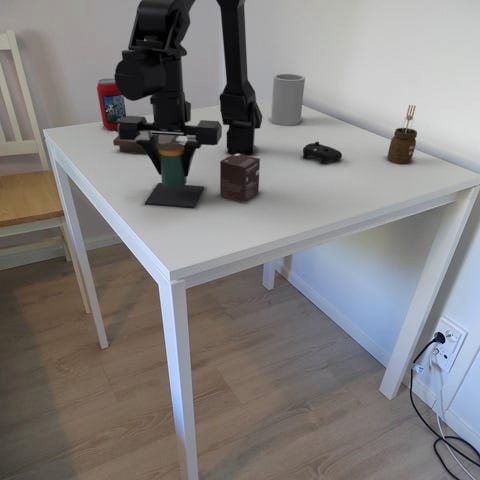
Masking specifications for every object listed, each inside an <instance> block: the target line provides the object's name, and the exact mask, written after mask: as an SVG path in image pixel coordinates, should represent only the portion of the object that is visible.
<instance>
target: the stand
mask: <svg viewBox="0 0 480 480" xmlns="http://www.w3.org/2000/svg"><path fill="white" fill-rule="evenodd" d="M161 130H165V129H161ZM176 131H181V130H176ZM179 137H180V136H174V135H159V145H161V144H165V143H177V139H178V138H179ZM136 141H137V137H136V138H135V139H134V140H125V139H119V136H118V135H117V136H116V138H114V139H113V140H112V142H113V146H115V147H116V146H117V147H119V152H120V153H132V154H144V155H145V154H146V155H147V153H146V152H145V150H144V149H143V148H142V146H141V145H137V144H136Z"/></svg>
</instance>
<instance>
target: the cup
mask: <svg viewBox="0 0 480 480" xmlns="http://www.w3.org/2000/svg"><path fill="white" fill-rule="evenodd" d="M272 77H273V78H272V92H271V93H272V94H271V107H270V109H271V110H270V122H271V123H272V124H275V125H278V126H287V127H288V126H289V127H290V126H296V125H299V124H300V123H301V119H302V110H303V109H302V108H303V102H304V101H303V100H304V92H305V82H306V77H305V76H303V75H301V74H295V73H279V74H275V75H273V76H272Z"/></svg>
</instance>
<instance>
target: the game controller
mask: <svg viewBox="0 0 480 480" xmlns="http://www.w3.org/2000/svg"><path fill="white" fill-rule="evenodd" d="M302 153H303V155H302V158H303V159H308V158H309V157H311V158H313V159H317V160H320V164H326V163H327V162H329V161H335V162H336V161H337V162H338V161H341V159H342V158H343V154H342V152H341V151H340V150H338V149H335V148H334V147H332V146H327V145H324V144H321V143H320V141H315V142H311V143H308V144H306V145H304V147H303V148H302Z"/></svg>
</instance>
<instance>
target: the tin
mask: <svg viewBox="0 0 480 480" xmlns="http://www.w3.org/2000/svg"><path fill="white" fill-rule="evenodd" d="M184 145H185V144H182V143H181V142H180V143H179V142H176V143H165V144H161V145H159V146H158V152H159V158H160V168H161V175H160V177H161V183H162V184H163V185H164V186H167V187H181V186H183V185H187V182H188V180H187V179H188V178H187V177H188V176H187V177H185V172H184Z"/></svg>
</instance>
